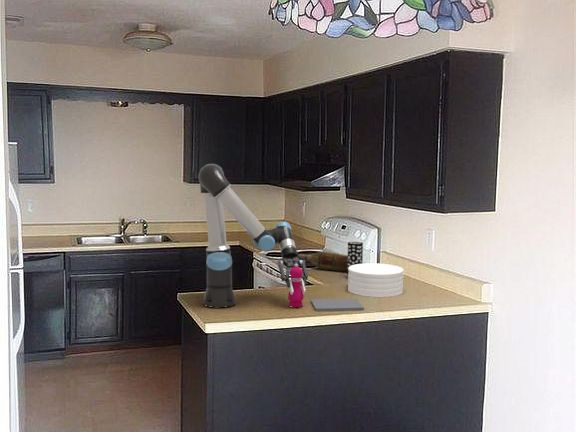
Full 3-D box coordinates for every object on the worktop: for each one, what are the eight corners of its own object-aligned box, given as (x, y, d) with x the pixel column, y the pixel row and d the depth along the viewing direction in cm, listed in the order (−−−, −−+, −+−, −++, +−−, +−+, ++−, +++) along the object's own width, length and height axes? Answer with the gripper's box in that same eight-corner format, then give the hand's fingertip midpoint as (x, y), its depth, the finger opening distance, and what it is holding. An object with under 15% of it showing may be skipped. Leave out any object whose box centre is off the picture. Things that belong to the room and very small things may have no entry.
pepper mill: (290, 308, 276) (290, 265, 274) (286, 304, 283) (286, 262, 281) (305, 307, 279) (306, 264, 276) (300, 303, 285) (301, 261, 283)
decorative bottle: (358, 265, 361) (292, 256, 383) (355, 251, 356) (288, 243, 377) (352, 277, 354) (284, 267, 376) (349, 263, 348) (280, 254, 370)
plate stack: (346, 295, 302) (347, 273, 300) (349, 283, 329) (349, 262, 328) (404, 298, 298) (404, 275, 296) (401, 285, 325) (402, 264, 324)
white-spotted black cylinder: (360, 280, 335) (361, 244, 333) (345, 279, 338) (346, 243, 336) (363, 277, 343) (364, 242, 341) (349, 276, 346) (349, 241, 343)
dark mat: (315, 311, 273) (315, 308, 273) (310, 301, 289) (310, 299, 289) (363, 310, 275) (363, 307, 275) (356, 301, 291) (356, 298, 291)
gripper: (304, 254, 296) (315, 295, 282) (268, 256, 291) (277, 298, 277) (308, 245, 290) (319, 287, 276) (271, 246, 285) (280, 289, 271)
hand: (298, 292), depth 277 cm, fingers closed on pepper mill, 5 cm apart
